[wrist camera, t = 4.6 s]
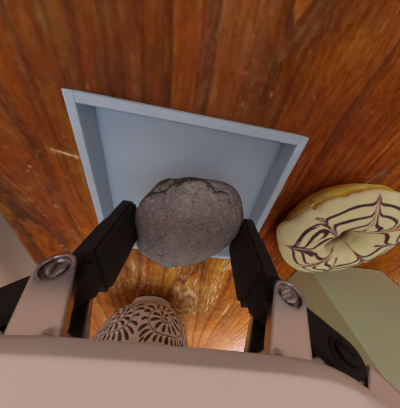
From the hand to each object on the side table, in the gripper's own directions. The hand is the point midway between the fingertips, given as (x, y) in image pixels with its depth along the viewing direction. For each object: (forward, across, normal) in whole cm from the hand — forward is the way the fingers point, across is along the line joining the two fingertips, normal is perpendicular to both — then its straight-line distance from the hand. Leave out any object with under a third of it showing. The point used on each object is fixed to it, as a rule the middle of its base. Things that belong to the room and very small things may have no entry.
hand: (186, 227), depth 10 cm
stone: (+1, 0, 0) cm, 1 cm away
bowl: (+5, +4, +25) cm, 26 cm away
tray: (+5, +1, 0) cm, 5 cm away
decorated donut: (+6, -14, +1) cm, 16 cm away
